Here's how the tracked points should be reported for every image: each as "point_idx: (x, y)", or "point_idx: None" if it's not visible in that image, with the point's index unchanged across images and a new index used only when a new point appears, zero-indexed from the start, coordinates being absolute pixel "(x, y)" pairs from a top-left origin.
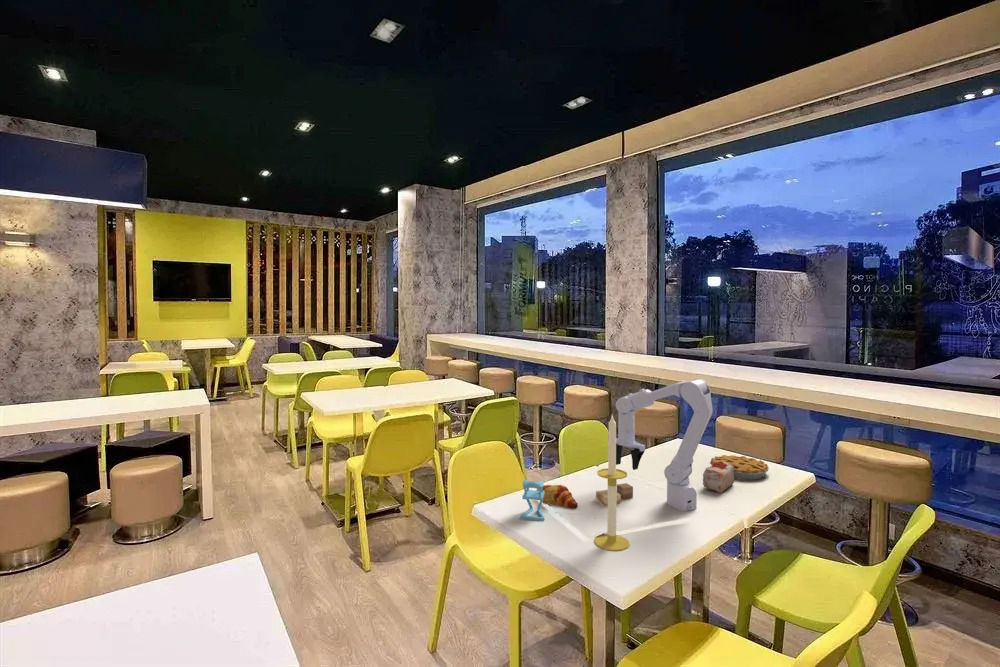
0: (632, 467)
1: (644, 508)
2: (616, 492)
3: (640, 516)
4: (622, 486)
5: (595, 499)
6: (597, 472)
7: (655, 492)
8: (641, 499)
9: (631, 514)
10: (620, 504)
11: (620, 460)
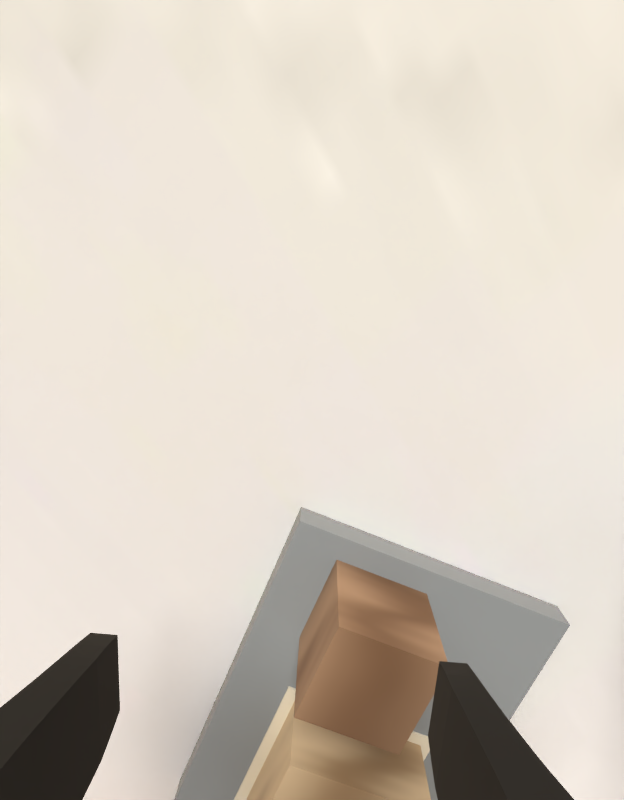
0: (433, 775)
1: None
2: (374, 794)
3: (596, 751)
4: (366, 724)
5: (240, 794)
6: None
7: (464, 251)
8: (451, 494)
9: None
10: (426, 755)
11: (90, 674)
